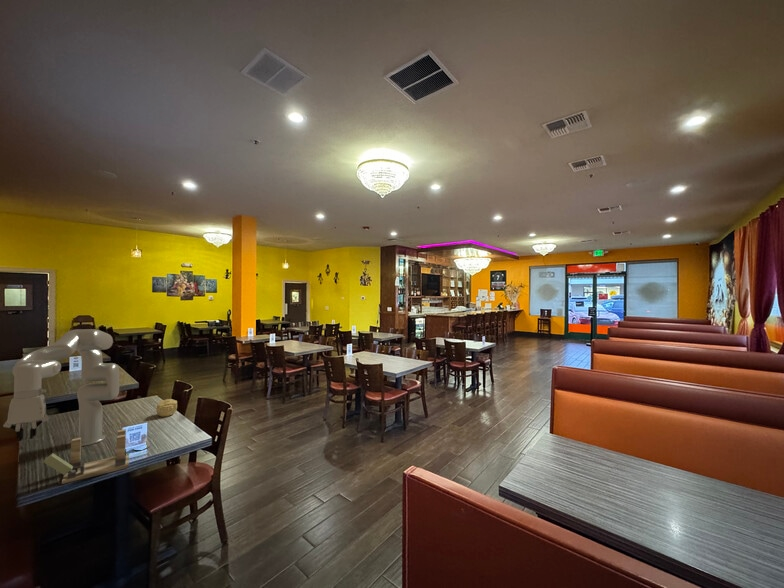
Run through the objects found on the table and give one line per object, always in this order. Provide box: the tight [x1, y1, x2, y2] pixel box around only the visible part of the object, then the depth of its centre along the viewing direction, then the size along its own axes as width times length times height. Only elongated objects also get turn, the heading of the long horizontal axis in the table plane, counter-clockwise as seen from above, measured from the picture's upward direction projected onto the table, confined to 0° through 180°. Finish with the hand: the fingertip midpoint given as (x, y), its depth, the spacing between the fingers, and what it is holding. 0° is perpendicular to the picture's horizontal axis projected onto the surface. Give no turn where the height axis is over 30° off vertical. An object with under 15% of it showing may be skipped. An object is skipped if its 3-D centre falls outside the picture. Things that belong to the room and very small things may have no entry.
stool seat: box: [61, 428, 130, 485], centre depth 149 cm, size 14×22×14 cm, turn 129°
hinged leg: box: [43, 452, 76, 476], centre depth 139 cm, size 4×3×13 cm
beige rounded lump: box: [156, 398, 178, 418], centre depth 218 cm, size 11×12×11 cm
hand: (26, 438), depth 133 cm, fingers open, 2 cm apart
